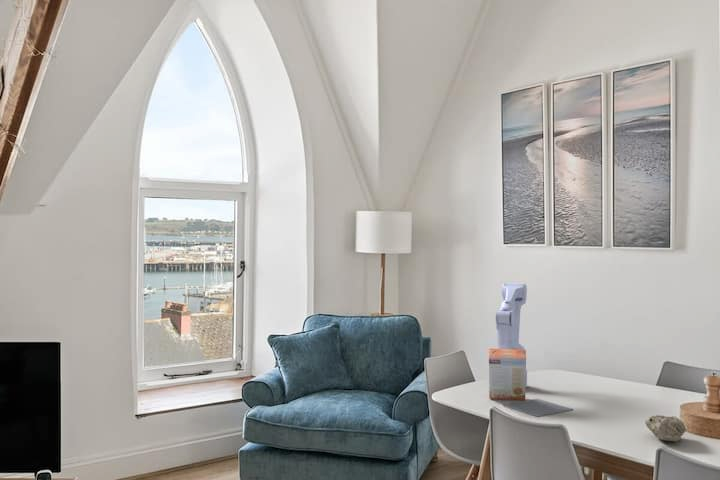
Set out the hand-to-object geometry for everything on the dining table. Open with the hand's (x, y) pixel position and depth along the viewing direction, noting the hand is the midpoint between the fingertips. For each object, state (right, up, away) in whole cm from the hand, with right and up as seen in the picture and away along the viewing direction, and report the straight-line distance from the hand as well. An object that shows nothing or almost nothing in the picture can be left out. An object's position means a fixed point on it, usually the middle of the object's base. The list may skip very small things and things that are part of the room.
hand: (504, 375), depth 267 cm
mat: (+9, -9, -15) cm, 20 cm away
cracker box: (+1, -8, -1) cm, 8 cm away
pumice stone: (+39, -10, -55) cm, 68 cm away
